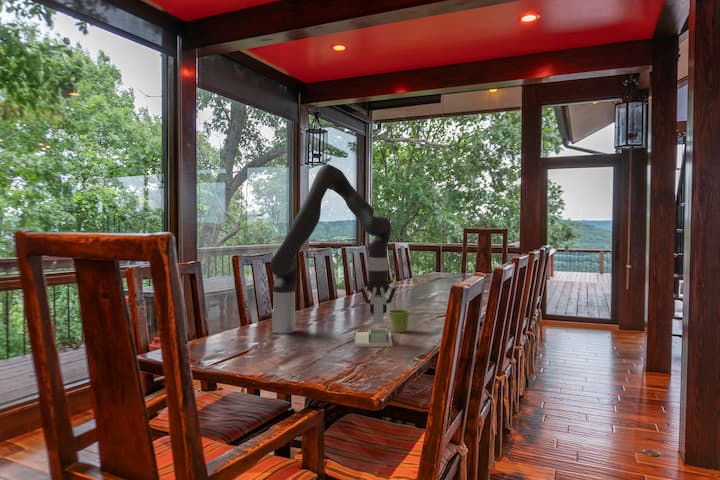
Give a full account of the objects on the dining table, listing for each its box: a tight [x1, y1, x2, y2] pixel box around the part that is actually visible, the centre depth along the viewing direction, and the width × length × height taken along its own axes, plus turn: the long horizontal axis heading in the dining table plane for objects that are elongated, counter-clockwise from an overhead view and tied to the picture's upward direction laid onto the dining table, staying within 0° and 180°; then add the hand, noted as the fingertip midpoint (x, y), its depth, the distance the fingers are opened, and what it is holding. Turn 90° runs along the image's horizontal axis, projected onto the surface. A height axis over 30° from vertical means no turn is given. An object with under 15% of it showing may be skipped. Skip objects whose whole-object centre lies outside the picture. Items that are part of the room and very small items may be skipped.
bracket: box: [373, 295, 384, 325], centre depth 176 cm, size 4×6×10 cm, turn 179°
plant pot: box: [387, 308, 411, 334], centre depth 195 cm, size 9×9×9 cm
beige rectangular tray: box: [354, 328, 393, 348], centre depth 179 cm, size 14×18×4 cm
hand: (378, 313), depth 176 cm, fingers closed on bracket, 3 cm apart
